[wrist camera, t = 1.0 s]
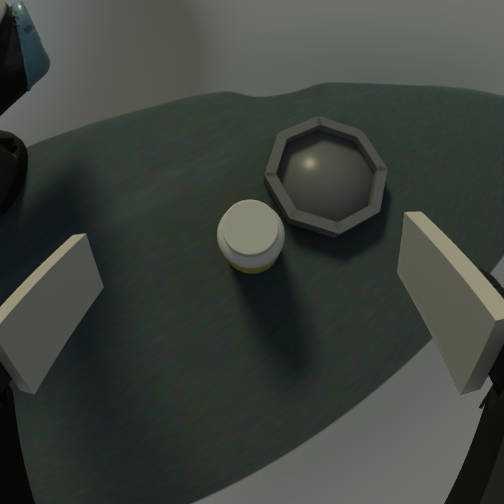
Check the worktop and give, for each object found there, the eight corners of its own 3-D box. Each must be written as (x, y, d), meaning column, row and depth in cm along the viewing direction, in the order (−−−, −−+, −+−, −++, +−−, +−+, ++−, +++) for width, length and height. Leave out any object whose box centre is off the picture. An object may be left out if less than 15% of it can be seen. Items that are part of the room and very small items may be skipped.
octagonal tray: (253, 213, 38) (253, 207, 35) (285, 116, 40) (286, 106, 37) (365, 248, 37) (372, 244, 35) (385, 149, 39) (391, 141, 37)
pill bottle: (224, 222, 38) (212, 191, 27) (277, 221, 38) (286, 189, 27) (225, 275, 37) (212, 265, 26) (279, 274, 37) (290, 262, 26)
